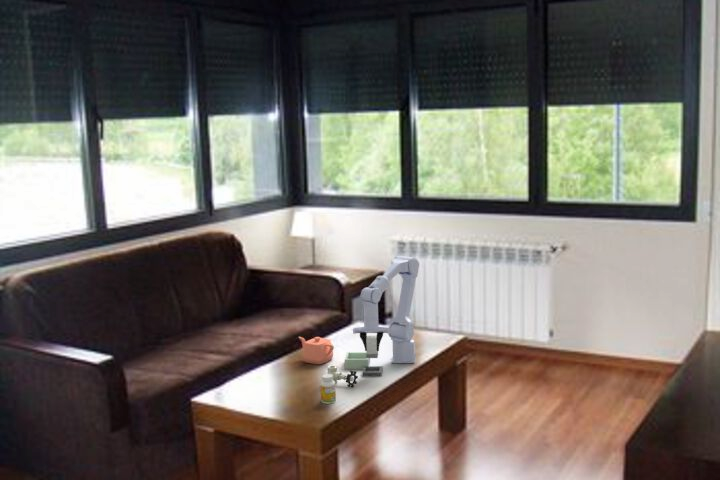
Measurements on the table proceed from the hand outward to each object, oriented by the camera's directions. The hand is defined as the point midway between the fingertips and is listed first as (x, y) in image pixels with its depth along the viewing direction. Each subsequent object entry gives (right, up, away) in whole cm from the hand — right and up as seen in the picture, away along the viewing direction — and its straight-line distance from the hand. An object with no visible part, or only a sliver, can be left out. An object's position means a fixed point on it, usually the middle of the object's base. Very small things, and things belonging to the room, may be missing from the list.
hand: (372, 350), depth 313 cm
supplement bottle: (-16, -15, -28) cm, 35 cm away
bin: (-6, -8, +12) cm, 15 cm away
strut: (0, -2, 0) cm, 2 cm away
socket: (0, -9, +2) cm, 9 cm away
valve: (-12, -12, -10) cm, 20 cm away
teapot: (-23, -7, +20) cm, 31 cm away
